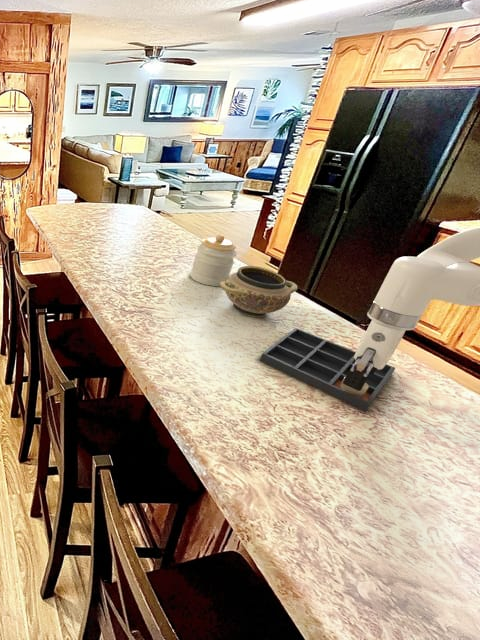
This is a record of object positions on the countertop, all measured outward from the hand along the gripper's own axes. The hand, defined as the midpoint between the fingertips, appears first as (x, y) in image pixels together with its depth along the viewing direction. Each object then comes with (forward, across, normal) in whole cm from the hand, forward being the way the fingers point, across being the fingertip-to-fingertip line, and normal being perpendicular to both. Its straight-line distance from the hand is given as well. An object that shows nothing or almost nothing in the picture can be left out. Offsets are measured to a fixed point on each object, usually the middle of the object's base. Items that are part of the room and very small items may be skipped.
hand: (358, 378), depth 88 cm
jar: (+5, +34, +52) cm, 62 cm away
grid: (+5, +7, +7) cm, 11 cm away
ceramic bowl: (+5, +22, +32) cm, 39 cm away
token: (+4, 0, 0) cm, 4 cm away
